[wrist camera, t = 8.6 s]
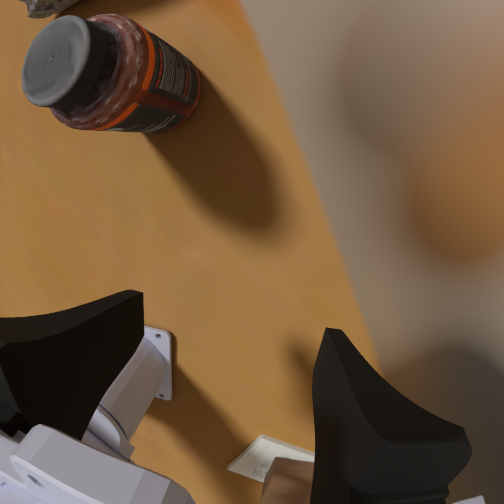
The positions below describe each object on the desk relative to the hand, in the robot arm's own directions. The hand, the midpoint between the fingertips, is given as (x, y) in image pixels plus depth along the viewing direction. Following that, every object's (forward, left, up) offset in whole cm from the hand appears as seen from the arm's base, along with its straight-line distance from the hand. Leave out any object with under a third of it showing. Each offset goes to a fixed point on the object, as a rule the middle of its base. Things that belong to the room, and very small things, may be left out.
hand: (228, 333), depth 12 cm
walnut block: (+7, -24, -10) cm, 27 cm away
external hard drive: (+7, -25, -11) cm, 28 cm away
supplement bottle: (-8, +10, -11) cm, 17 cm away
